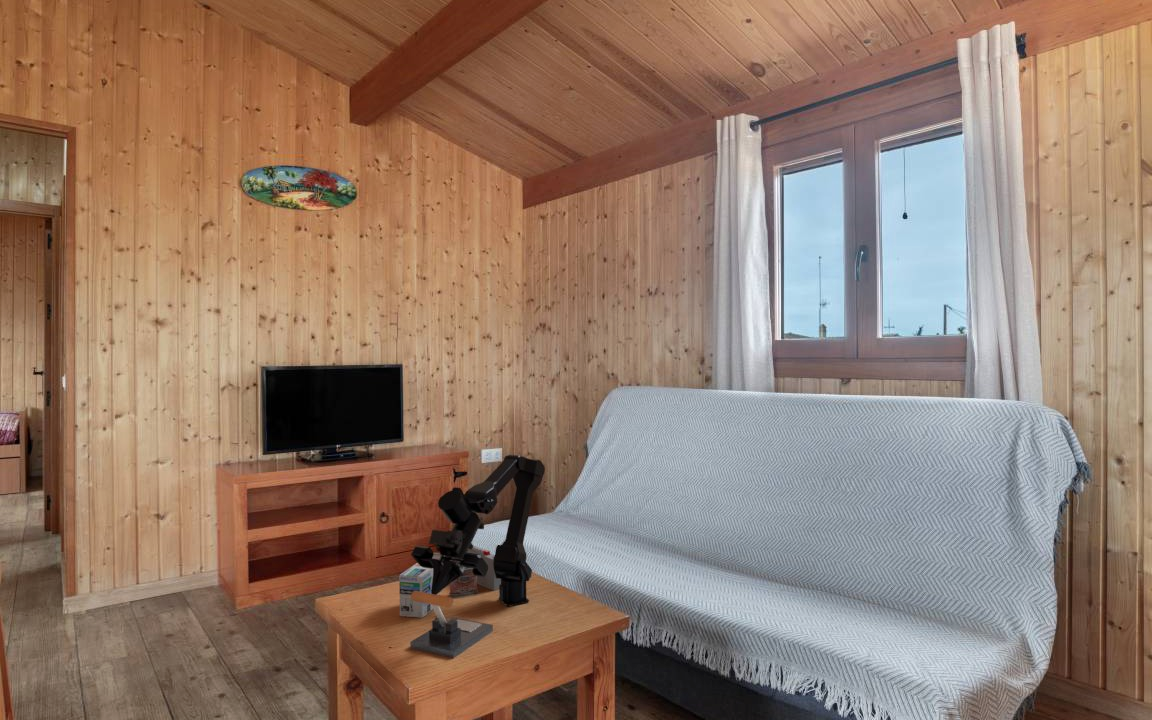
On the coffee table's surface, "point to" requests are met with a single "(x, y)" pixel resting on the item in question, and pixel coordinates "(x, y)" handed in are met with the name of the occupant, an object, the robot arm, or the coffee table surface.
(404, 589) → the light bulb box
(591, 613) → the coffee table surface
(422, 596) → the lever
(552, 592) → the coffee table surface
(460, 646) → the switch panel
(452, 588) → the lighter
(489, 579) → the cassette player
